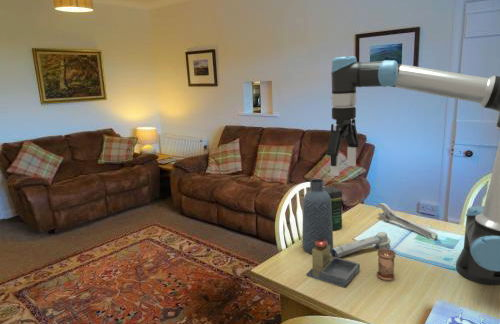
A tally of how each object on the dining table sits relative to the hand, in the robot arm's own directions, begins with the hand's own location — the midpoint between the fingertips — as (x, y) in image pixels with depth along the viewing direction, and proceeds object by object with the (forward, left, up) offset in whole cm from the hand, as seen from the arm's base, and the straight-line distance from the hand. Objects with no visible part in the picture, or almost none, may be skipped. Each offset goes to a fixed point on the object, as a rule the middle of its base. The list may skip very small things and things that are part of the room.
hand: (343, 170), depth 122 cm
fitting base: (+2, +5, -37) cm, 37 cm away
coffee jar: (+19, -31, -37) cm, 52 cm away
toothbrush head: (-1, -16, -37) cm, 40 cm away
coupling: (-14, -2, -37) cm, 39 cm away
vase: (+15, -9, -37) cm, 41 cm away
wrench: (-9, -45, -37) cm, 59 cm away
